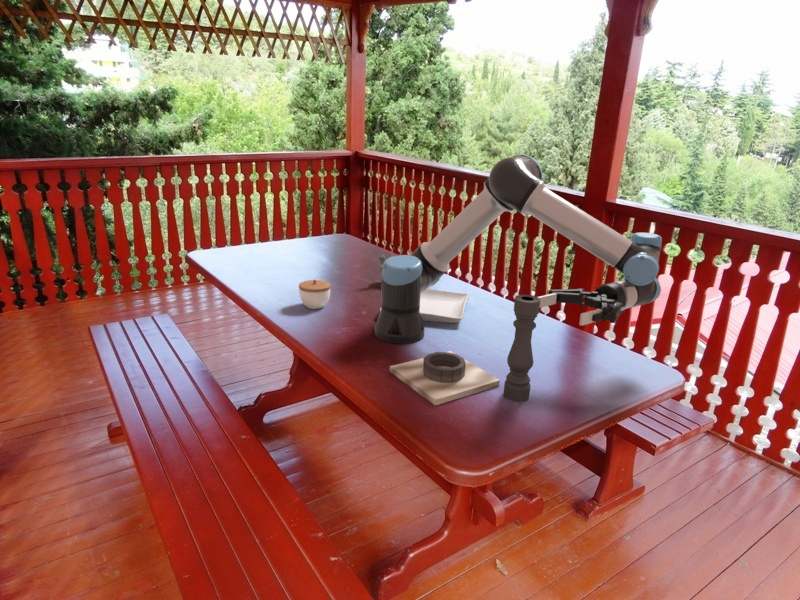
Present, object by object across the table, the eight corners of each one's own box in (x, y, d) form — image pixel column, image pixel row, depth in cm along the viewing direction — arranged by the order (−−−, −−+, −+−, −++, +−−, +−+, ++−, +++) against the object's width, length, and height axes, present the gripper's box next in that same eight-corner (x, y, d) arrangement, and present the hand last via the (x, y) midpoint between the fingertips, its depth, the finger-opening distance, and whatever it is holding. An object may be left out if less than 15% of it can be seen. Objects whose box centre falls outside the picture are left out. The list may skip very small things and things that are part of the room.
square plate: (461, 329, 173) (462, 317, 172) (378, 320, 178) (378, 309, 176) (468, 302, 198) (469, 291, 197) (395, 294, 203) (395, 284, 202)
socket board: (389, 371, 142) (390, 354, 140) (450, 355, 153) (451, 339, 151) (435, 405, 126) (436, 386, 125) (499, 385, 137) (501, 367, 135)
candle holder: (525, 389, 135) (537, 294, 127) (532, 402, 129) (544, 303, 121) (500, 389, 135) (511, 293, 127) (506, 402, 129) (517, 302, 121)
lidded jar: (335, 308, 186) (335, 282, 183) (305, 313, 181) (305, 286, 177) (323, 299, 194) (323, 273, 191) (294, 303, 189) (294, 277, 186)
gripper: (655, 325, 133) (599, 343, 121) (574, 297, 152) (519, 310, 141) (661, 296, 130) (604, 311, 119) (577, 271, 150) (522, 282, 139)
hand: (558, 310), depth 130 cm, fingers open, 13 cm apart
